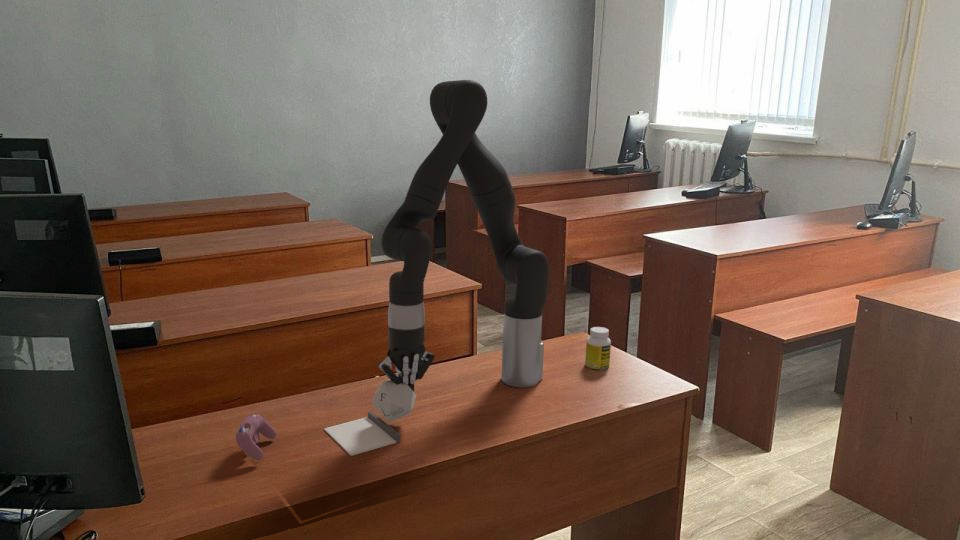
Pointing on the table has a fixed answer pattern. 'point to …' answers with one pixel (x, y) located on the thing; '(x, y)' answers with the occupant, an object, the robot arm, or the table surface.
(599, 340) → the pill bottle
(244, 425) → the video game controller
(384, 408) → the die
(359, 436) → the white l-shaped plate
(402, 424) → the table surface
